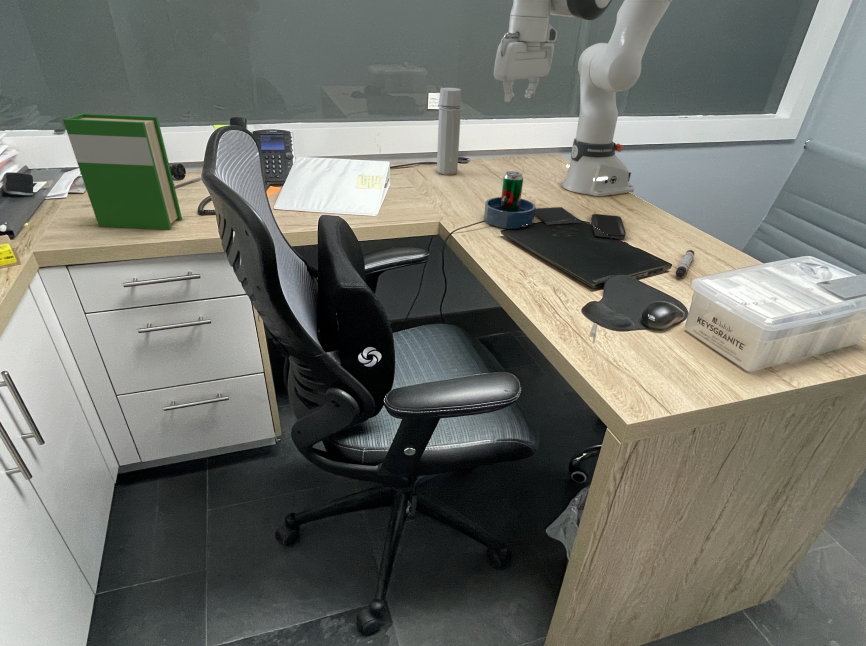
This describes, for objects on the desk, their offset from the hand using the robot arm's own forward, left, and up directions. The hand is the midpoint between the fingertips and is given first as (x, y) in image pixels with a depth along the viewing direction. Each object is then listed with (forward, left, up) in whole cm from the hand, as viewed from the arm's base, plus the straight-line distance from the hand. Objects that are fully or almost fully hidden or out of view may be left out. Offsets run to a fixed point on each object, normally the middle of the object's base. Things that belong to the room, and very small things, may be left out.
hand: (519, 99), depth 131 cm
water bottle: (+4, -44, -29) cm, 53 cm away
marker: (-27, +40, -29) cm, 57 cm away
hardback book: (+94, -11, -29) cm, 99 cm away
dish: (+1, +4, -29) cm, 29 cm away
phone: (-23, +14, -29) cm, 39 cm away
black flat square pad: (-13, +3, -29) cm, 32 cm away
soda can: (+1, +4, -29) cm, 29 cm away
